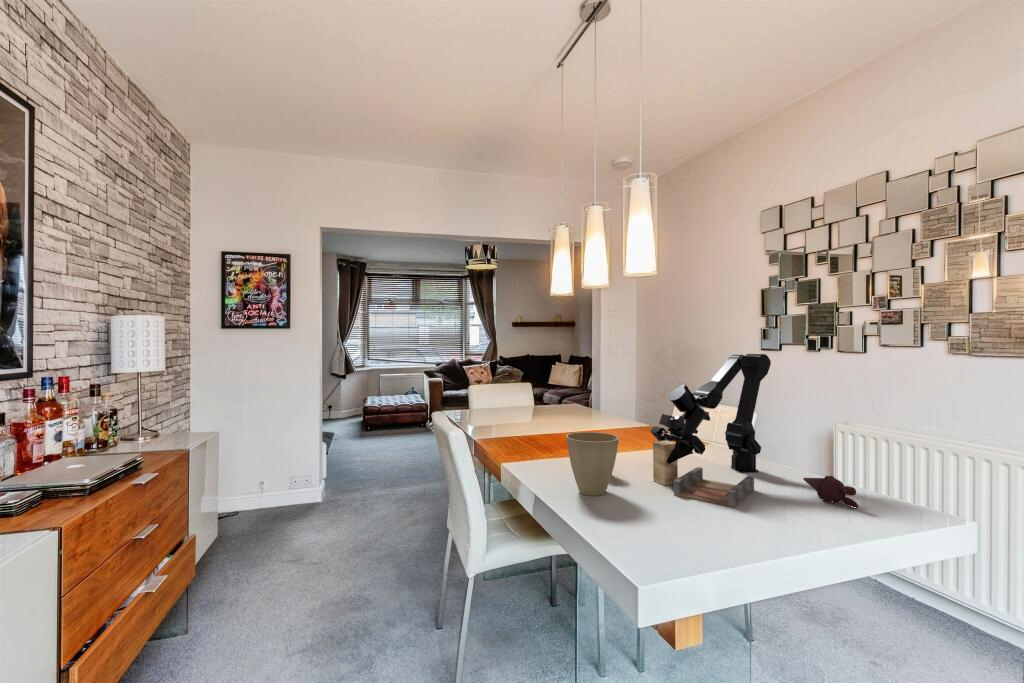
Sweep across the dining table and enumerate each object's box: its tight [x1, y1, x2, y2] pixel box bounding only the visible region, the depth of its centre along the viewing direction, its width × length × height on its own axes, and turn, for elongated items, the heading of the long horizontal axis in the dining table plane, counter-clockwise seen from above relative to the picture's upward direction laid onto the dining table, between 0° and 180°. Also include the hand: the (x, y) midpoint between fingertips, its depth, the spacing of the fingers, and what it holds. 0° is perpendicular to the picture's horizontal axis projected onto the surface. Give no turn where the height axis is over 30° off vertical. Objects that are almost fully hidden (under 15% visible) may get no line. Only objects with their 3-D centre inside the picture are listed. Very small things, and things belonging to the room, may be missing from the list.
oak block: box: [652, 440, 679, 486], centre depth 144 cm, size 5×5×12 cm
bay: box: [673, 466, 755, 509], centre depth 134 cm, size 19×16×4 cm
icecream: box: [803, 475, 859, 508], centre depth 127 cm, size 7×7×15 cm
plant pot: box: [565, 431, 619, 496], centre depth 135 cm, size 15×15×16 cm
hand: (661, 460), depth 143 cm, fingers closed on oak block, 5 cm apart
